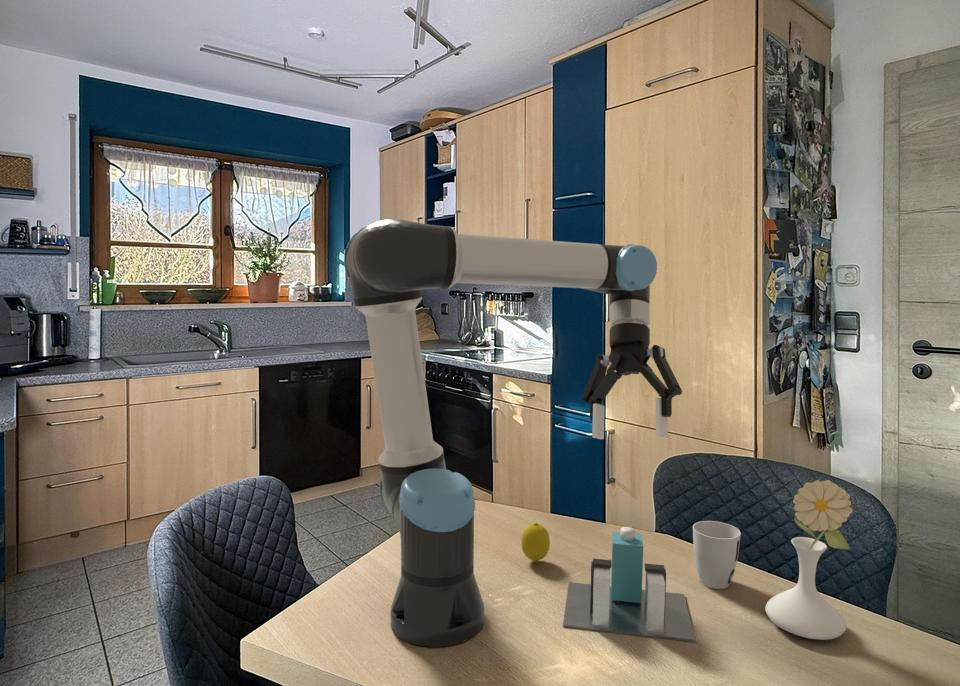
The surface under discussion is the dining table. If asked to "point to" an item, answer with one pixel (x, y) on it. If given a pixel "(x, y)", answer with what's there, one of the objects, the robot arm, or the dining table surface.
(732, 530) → the cup
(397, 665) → the dining table surface
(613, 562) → the teal post
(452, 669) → the dining table surface
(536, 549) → the lemon
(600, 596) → the steel clamp
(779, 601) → the flower in vase
